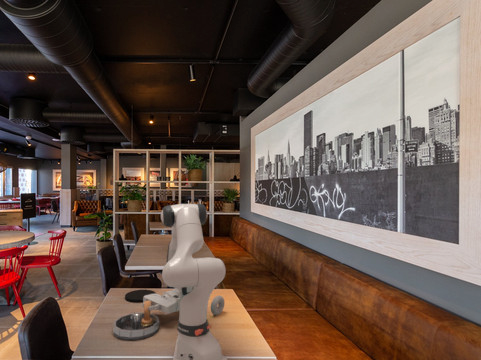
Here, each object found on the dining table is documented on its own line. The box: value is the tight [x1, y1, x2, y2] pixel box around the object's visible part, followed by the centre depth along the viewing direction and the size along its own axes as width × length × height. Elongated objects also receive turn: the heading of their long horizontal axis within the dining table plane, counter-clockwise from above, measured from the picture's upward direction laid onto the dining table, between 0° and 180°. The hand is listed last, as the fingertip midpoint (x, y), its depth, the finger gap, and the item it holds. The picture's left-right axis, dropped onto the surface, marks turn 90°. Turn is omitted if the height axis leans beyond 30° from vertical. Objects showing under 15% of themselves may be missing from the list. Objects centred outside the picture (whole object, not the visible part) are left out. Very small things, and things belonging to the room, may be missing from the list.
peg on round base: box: [142, 301, 152, 325], centre depth 152 cm, size 5×5×10 cm
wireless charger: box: [124, 289, 157, 304], centre depth 189 cm, size 18×18×2 cm
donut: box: [210, 295, 225, 316], centre depth 168 cm, size 10×4×10 cm, turn 147°
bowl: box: [112, 311, 160, 342], centre depth 147 cm, size 20×20×8 cm
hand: (145, 307), depth 151 cm, fingers open, 3 cm apart
